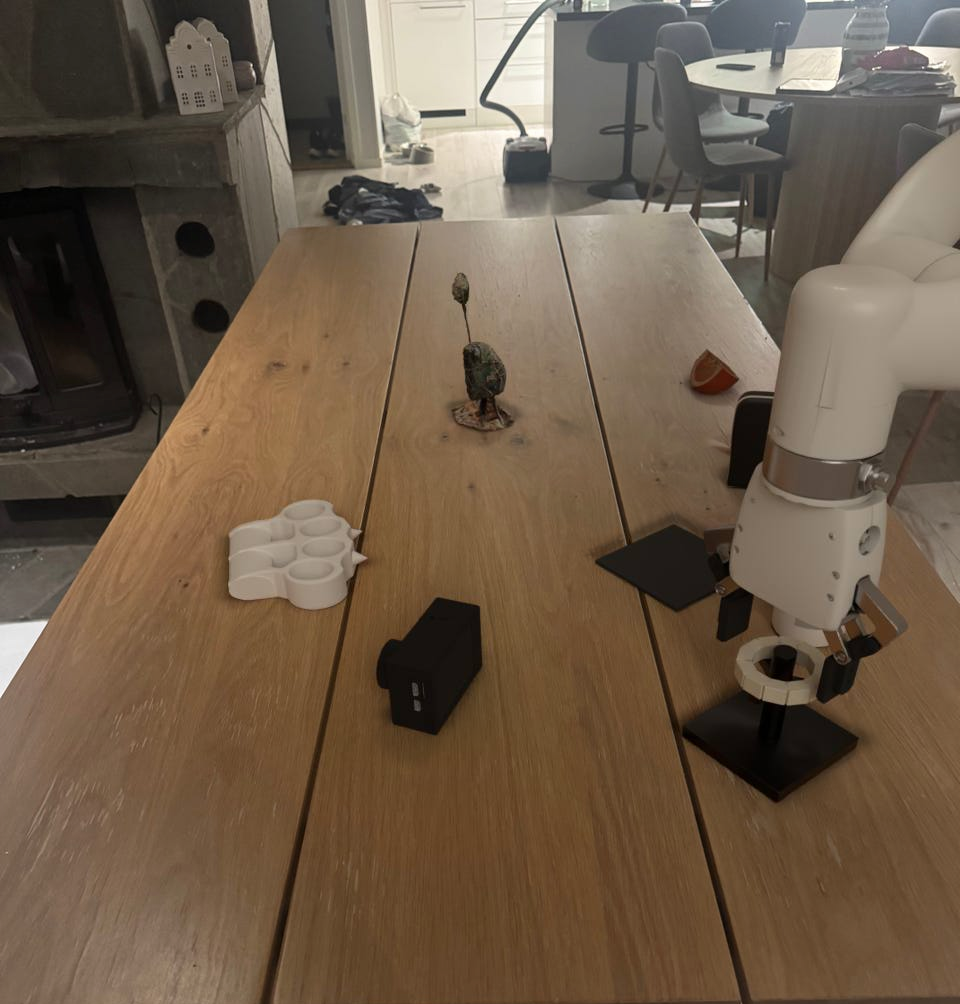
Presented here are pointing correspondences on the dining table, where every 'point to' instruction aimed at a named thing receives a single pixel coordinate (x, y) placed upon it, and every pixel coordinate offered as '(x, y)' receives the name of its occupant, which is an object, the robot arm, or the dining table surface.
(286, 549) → the white brass knuckles
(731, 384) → the fruit slice
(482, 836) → the dining table surface
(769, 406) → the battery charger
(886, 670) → the dining table surface
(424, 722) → the digital camera
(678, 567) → the mat
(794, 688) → the ring
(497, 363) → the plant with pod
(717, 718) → the rack
